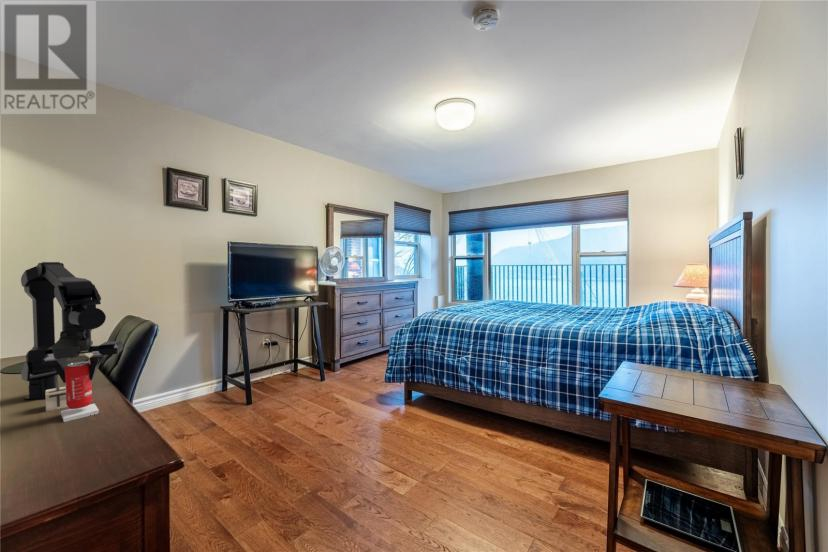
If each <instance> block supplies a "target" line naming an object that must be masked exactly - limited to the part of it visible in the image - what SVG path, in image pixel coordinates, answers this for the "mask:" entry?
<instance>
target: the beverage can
mask: <svg viewBox="0 0 828 552" xmlns="http://www.w3.org/2000/svg"><path fill="white" fill-rule="evenodd" d="M64 384H65V387H66V405H67V406H68V407H67V408H68V409H78V408H83V407H86V406H88V405H90V404H92V401H93V387H92V386H93V385H92V380H90V361H89V360H88V361H86V360H83V361H75V362H71V363H67V365H66V368H65V383H64Z"/></svg>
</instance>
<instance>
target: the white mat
mask: <svg viewBox="0 0 828 552" xmlns="http://www.w3.org/2000/svg"><path fill="white" fill-rule="evenodd" d="M98 413H99V414H100V409H99V408H98V406H97V405H96V403H91V404H90V405H88V406H86V407H83V408H78V409H69V408H68V409H65V410H61V411H60V415H61V418H62V421H63V422H64V423H67V422H70V421H71V422H72V421H75V420H79V419H82V418H86V417H90V415H91V416H94V414H95V415H98Z"/></svg>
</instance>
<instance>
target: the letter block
mask: <svg viewBox="0 0 828 552" xmlns="http://www.w3.org/2000/svg"><path fill="white" fill-rule="evenodd" d="M45 397H46V398H45V412H46V411H47V412H50V411H56V410H60V408H61V409H65V408H69V407H68V406H67V405H66V386H61V387H58V388H55V389H49V390H46V393H45ZM55 409H56V410H55Z"/></svg>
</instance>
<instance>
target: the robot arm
mask: <svg viewBox="0 0 828 552" xmlns="http://www.w3.org/2000/svg"><path fill="white" fill-rule="evenodd" d="M20 283H21V284H20V285H21V286H22V287H23V290H24V293H25V294H26V295H27V296H28V297H29V298H30V299H31V301H32V302H31V303H32V323H33V327H32V329H33V346H32V348H31V349H30V350H29V351H28V352H26V355H25V361H24V362H23V363H24V364H23V366H22V369H21V372H20V374H21V380H23V381H25V382H28V395H27V396H25V397H23V400H24V401H25V400H26V401H27V400H40V399H43V400H46V397H45V393H46V390H49V389H55V388H59V384H58V376H59V377H60V379H61V381H62V382H63V383H64V384H65V368H66V365H67V364H68V358H70V359H73V358H78V357H79V356H80V355H81V354H92V355H91V356H89V363H90V380H91V381H93V380H94V378H95V375H96V373H97V371H98V368H99V366H100V364H101V362H102V360H103V359H104V358H105V357H107V356H110V355H117V354H120V353H121V351H123V350H124V343H123V342H122V341H121V340H115V341H114V340H113V341H104V342H103V343H101V344H99V345H93V344H94V342H93V340H92V331H93V330H95V329H99V328H100V327H101V326H103V325H104V324H105V322H106V317H107V316H106V313H105V312H104V311H103V310H102V309H101V308H98V307H97V305H101V301H102V297H101V295H100V293H99V291H98V289H97V287H96V286H95V284H94V283H93V282H92V281H91V280H89V279H86V278H82V277H76V275H74V274H73V273H72V272H70V271H69V270H68V269H67V268H66V267H65V265H64V263H63V262H60V261H42V262H38V263H37V265H35V266H32V267H30V268H27V269H25V270H24V272H23V274H22V275H21V277H20ZM55 299H56V301H57V302H58V304H59V307H60V308H61V327H62V328H61V331H60V333H59V339H58V340H57V341H56V336H55V332H56V331H55V305H54V304H55V303H54V300H55Z"/></svg>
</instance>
